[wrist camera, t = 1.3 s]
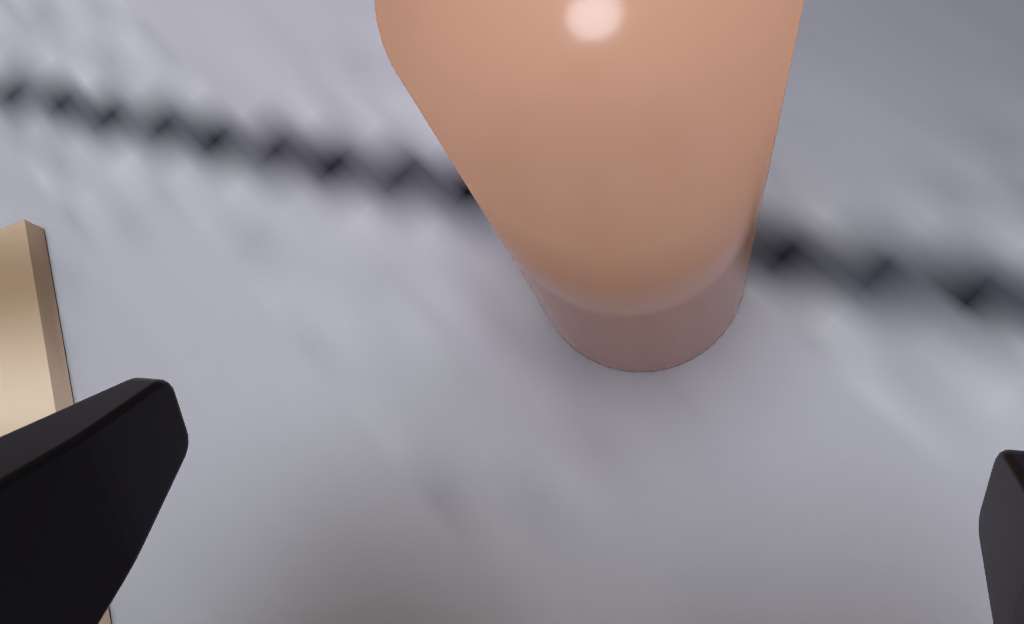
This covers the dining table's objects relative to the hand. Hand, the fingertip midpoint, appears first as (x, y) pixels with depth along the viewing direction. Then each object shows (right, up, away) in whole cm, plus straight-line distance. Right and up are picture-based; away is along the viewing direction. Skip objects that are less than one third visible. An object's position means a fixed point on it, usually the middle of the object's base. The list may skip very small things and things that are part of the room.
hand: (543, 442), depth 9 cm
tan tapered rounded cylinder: (+3, +2, +13) cm, 13 cm away
